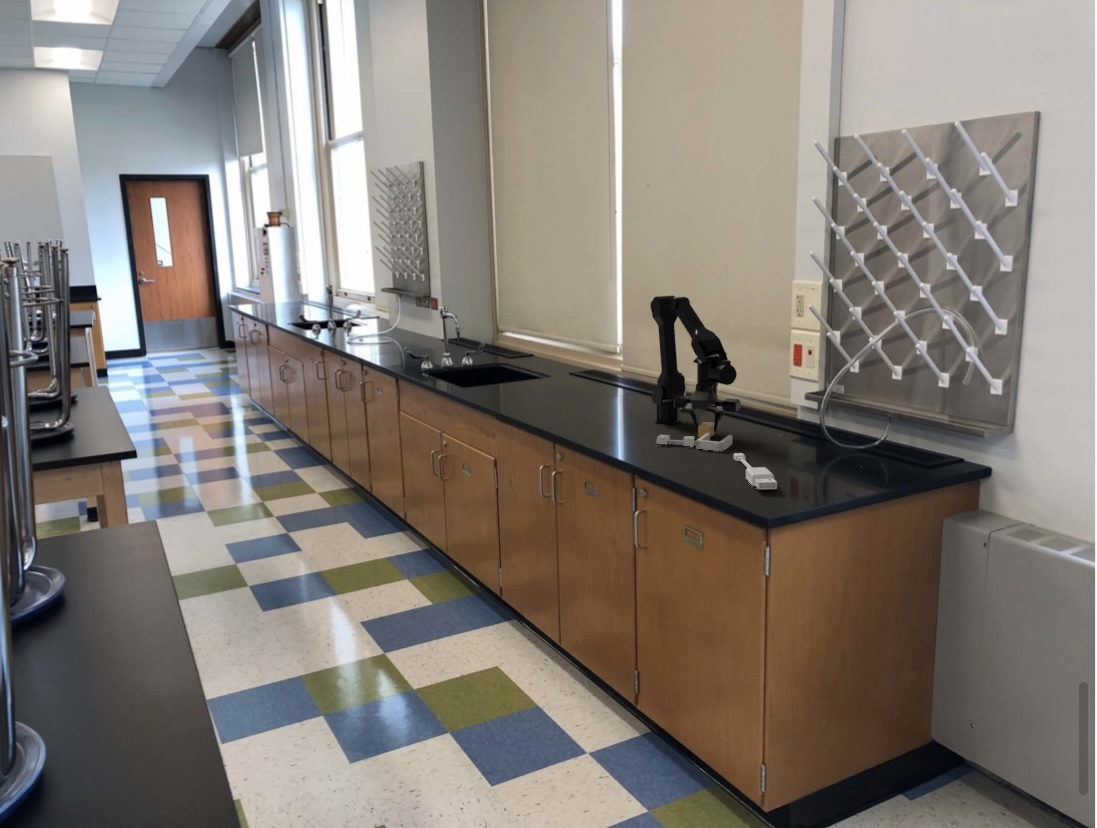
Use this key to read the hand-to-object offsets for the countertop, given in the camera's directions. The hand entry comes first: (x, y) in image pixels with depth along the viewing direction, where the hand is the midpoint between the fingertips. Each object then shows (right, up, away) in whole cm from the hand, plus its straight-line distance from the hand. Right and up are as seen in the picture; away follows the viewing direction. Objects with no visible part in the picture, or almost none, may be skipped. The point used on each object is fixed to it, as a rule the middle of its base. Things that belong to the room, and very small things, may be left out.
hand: (706, 432), depth 252 cm
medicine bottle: (-4, +7, +41) cm, 42 cm away
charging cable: (+4, -10, -40) cm, 42 cm away
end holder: (0, -4, -13) cm, 13 cm away
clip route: (-10, -4, -10) cm, 15 cm away
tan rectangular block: (0, -1, 0) cm, 1 cm away
